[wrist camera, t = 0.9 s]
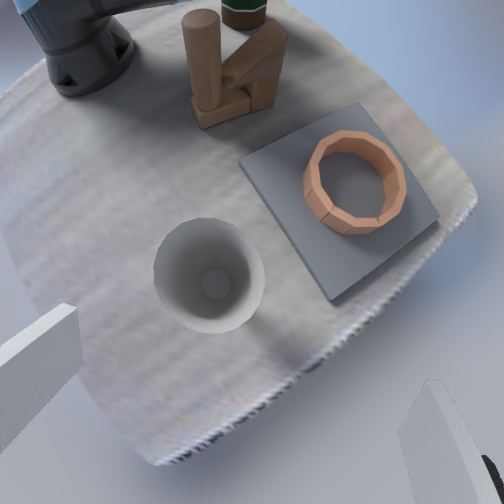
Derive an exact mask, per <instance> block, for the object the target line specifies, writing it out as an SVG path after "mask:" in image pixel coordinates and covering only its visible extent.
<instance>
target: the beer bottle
mask: <svg viewBox="0 0 504 504" xmlns="http://www.w3.org/2000/svg"><path fill="white" fill-rule="evenodd" d="M266 5H267V0H222V22H223V23H224V24H226V25H228V26H230V27H231V28H233V29H235V30H252V29H254V28H255V27H257V26H259V25H261V24H263V23H264V19H265V13H266Z"/></svg>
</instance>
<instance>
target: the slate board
mask: <svg viewBox="0 0 504 504" xmlns="http://www.w3.org/2000/svg"><path fill="white" fill-rule="evenodd" d="M340 130H348V131H360V132H366V133H368V134H369V135H371V136H373V137H374V138H376V139H378V140H379V141H381V142H383V143H384V144H386V146H388V147H389V148H390V150H391V151H392V152H393V154H394V155H395V157H396V158H397V159H398V161H399V162H400V164H401V165H402V166H401V167H403V172H404V177H405V182H406V188H407V193H406V196H405V199H404V201H403V204H402V207H401V210H400V213H399V214H397V215H396V216H395V217H393V218H392V219H391V220H389V221H388V222H386V223H385V224H384V225H382V226H381V227H379V228H377V229H375V230H374V231H372V232H370V233H368V234H352V235H343V234H341V233H339V232H337V231H335V230H334V229H332V228H330V227H328V226H326V225H325V224H323V223H321V222H320V221H319V220H318V219H317V217H316V216H315V214H314V213H313V211H312V210H311V208H310V207H309V205H308V204H307V202H306V201H305V198H304V187H303V177H302V175H303V173H304V171H305V169H306V167H307V165H308V163H309V161H310V159H311V157H312V155H313V153H314V151H315V149H316V147H317V146H318V144H319V142H320V140H322V139H324V138H326V137H328V136H330V135H332V134H334V133H336V132H338V131H340ZM318 165H319V173H320V182H321V187H322V188H323V189H324V191H325V192H326V194H327V195H328V197H329V198H330V200H331V201H332V203H333V204H334V205H335V206H336V207H338V208H339V209H341V210H343V211H345V212H346V213H348V214H350V215H352V216H353V217H355V218H377V217H378V216H379V215H380V213H381V210H382V208H383V205H384V202H385V200H386V196H385V190H384V184H383V179H382V178H381V176H380V175H379V173H378V172H377V170H376V169H375V168H374V166H373V165H372V163H371V162H369V161H367V160H365V159H364V158H362V157H360V156H358V155H357V154H355V153H349V152H333V153H331V154H329V155H328V156H326V157H324V158H322V159H320V161H319V163H318ZM239 166H240V167H241V169H242V170H243V172H244V173H245V175H246V176H247V178H248V179H249V181H250V182H251V184H252V185H253V187H254V188H255V190H256V191H257V192H258V194H259V195H260V197H261V198H262V200H263V201H264V203H265V204H266V206H267V207H268V209H269V210H270V212H271V213H272V215H273V216H274V218H275V219H276V221H277V222H278V224H279V226H280V227H281V229H282V230H283V232H284V233H285V235H286V236H287V238H288V239H289V241H290V242H291V244H292V245H293V247H294V248H295V250H296V252H297V253H298V255H299V256H300V258H301V259H302V261H303V262H304V264H305V266H306V267H307V269H308V270H309V272H310V273H311V275H312V277H313V278H314V280H315V281H316V283H317V284H318V286H319V288H320V289H321V291H322V292H323V294H324V296H325V297H326V299H327V300H332V299H334V298H335V297H337V296H338V295H339V294H341V293H342V292H344V291H345V290H346V289H348V288H349V287H351V286H352V285H353V284H355V283H356V282H357V281H359V280H360V279H362V278H363V277H364V276H366V275H367V274H368V273H370V272H371V271H372V270H374V269H375V268H376V267H378V266H379V265H380V264H382V263H383V262H384V261H385V260H387V259H388V258H389V257H391V256H392V255H393V254H395V253H396V252H397V251H398V250H400V249H401V248H402V247H404V246H405V245H406V244H407V243H409V242H410V241H411V240H412V239H414V238H415V237H416V236H417V235H419V234H420V233H421V232H422V231H423V230H425V229H426V228H427V227H428V226H430V225H431V224H432V223H433V222H434V221H436V220H437V219H438V218H439V217H440V216H439V214H438V213H437V211H436V209H435V208H434V206H433V204H432V203H431V201H430V200H429V198H428V196H427V195H426V193H425V192H424V190H423V189H422V187H421V186H420V184H419V182H418V181H417V179H416V178H415V176H414V175H413V173H412V172H411V171H410V169H409V168H408V166H407V165H406V163H405V162H404V160H403V159H402V158H401V156H400V155H399V153H398V152H397V151H396V149H395V148H394V147H393V145H392V144H391V143H390V141H389V140H388V139H387V137H386V136H385V135H384V133H383V132H382V131H381V129H380V128H379V127H378V126H377V124H376V123H375V122H374V121H373V119H372V118H371V117H370V116H369V114H368V113H367V112H366V111H365V109H364V108H363V107H362V106H361V105H360V103H359V102H357V103H354V104H352V105H350V106H347V107H345V108H343V109H341V110H339V111H336V112H334V113H332V114H330V115H328V116H326V117H323V118H321V119H319V120H317V121H315V122H313V123H311V124H309V125H306V126H304V127H302V128H300V129H298V130H296V131H294V132H292V133H290V134H288V135H286V136H284V137H282V138H280V139H278V140H276V141H274V142H272V143H270V144H268V145H266V146H264V147H263V148H261V149H259V150H257V151H255V152H253V153H251V154H249V155H247V156H246V157H244V158H242V159H240V160H239Z"/></svg>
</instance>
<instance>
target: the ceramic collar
mask: <svg viewBox="0 0 504 504" xmlns="http://www.w3.org/2000/svg"><path fill="white" fill-rule="evenodd" d="M333 152H349V153H355V154H357V155H358V156H360V157H362V158H364V159H365V160H367V161H369V162H371V163H372V165H373V166H374V168H375V169H376V170H377V172H378V173H379V175H380V176H381V178H382V179H383V184H384V190H385V196H386V200H385V202H384V205H383V208H382V210H381V213H380V215H379V216H378V217H377V218H355V217H353V216H352V215H350V214H348V213H346V212H345V211H343V210H341V209H339V208H338V207H336V206H335V205H334V204H333V203H332V201H331V200H330V198H329V197H328V195H327V194H326V192H325V191H324V189H323V188H322V187H321V182H320V173H319V165H318V163H319V161H320V159H322V158H324V157H326V156H328V155H329V154H331V153H333ZM401 166H402V165H401V164H400V162H399V161H398V159H397V158H396V157H395V155H394V154H393V152H392V151H391V150H390V148H389V147H388V146H386V144H384V143H383V142H381V141H379V140H378V139H376V138H374V137H373V136H371V135H369V134H368V133H366V132H360V131H348V130H340V131H338V132H336V133H334V134H332V135H330V136H328V137H326V138H324V139H322V140H320V142H319V144H318V146H317V147H316V149H315V151H314V153H313V155H312V157H311V159H310V161H309V163H308V165H307V167H306V169H305V171H304V173H303V175H302V177H303V187H304V198H305V201H306V202H307V204H308V205H309V207H310V208H311V210H312V211H313V213H314V214H315V216H316V217H317V219H318V220H319V221H320V222H321V223H323V224H325V225H326V226H328V227H330V228H332V229H334V230H335V231H337V232H339V233H341V234H343V235H352V234H368V233H370V232H372V231H374V230H375V229H377V228H379V227H381V226H382V225H384V224H385V223H386V222H388V221H389V220H391V219H392V218H393V217H395V216H396V215H397V214H399V213H400V210H401V207H402V204H403V201H404V199H405V196H406V193H407V188H406V182H405V177H404V172H403V167H401Z"/></svg>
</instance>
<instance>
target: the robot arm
mask: <svg viewBox="0 0 504 504" xmlns="http://www.w3.org/2000/svg"><path fill="white" fill-rule="evenodd" d="M13 1H14V3H15V6H16V8H17V10H18V14H20V15H21V16H22V18H23V20H24V21H25V23H26V24H27V26H28V28H29V29H30V31H31V32H32V34H33V35H34V37H35V38H36V40H37V42H38V43H39V45H40V46H41V48H42V49H43V51H44V52H45V55H46V61H47V67H48V73H49V78H50V80H51V82H52V84H53V85H54V87H55V88H56V89H57V91H58V92H60V93H61V94H63V95H66V96H81V95H85V94H89V93H92V92H94V91H96V90H99V89H101V88H102V87H104V86H106V85H108V84H109V83H110V82H112V81H113V80H114V79H116V78H117V77H118V76H119V75H120V74H121V73H122V72H123V71H124V70H125V69H126V67H127V66H128V65H129V63H130V61H131V59H132V57H133V54H134V44H133V41H132V38H131V36H130V34H129V32H128V31H127V30H126V29H125V28H124V27H123V26H122V25H121V24H120V23H119V22H118V21H117V20H116V19H115V18H114V17H113V16H112V15H116V14H120V13H125V12H130V11H135V10H140V9H145V8H151V7H157V6H164V5H175V4H177V3H180V2H186V1H192V0H13ZM83 365H84V363H83V356H82V348H81V340H80V330H79V320H78V308H76V307H73V306H71V305H68V304H65V303H62V304H60V305H59V306H57V307H56V308H54V309H53V310H51V311H50V312H48V313H47V314H45V315H44V316H42V317H41V318H40V319H38V320H37V321H35V322H34V323H32V324H31V325H29V326H28V327H27V328H25V329H24V330H22V331H21V332H19V333H18V334H17V335H15V336H14V337H12V338H11V339H10V340H8V341H7V342H6V343H4V344H3V345H1V346H0V454H1V453H2V452H3V451H4V449H6V447H7V446H8V445H9V444H10V443H11V442H12V441H13V440H14V439H15V438H16V436H17V435H18V434H19V433H20V432H21V431H22V430H23V429H24V428H25V427H26V425H27V424H28V423H29V422H30V421H31V420H32V419H33V418H34V417H35V416H36V415H37V414H38V413H39V411H40V410H41V409H42V408H43V407H44V406H45V405H46V404H47V403H48V402H49V401H50V400H51V399H52V398H53V397H54V396H55V394H56V393H57V392H58V391H59V390H60V389H61V388H62V387H63V386H64V385H65V384H66V383H67V382H68V381H69V380H70V379H71V378H72V377H73V376H74V375H75V374H76V373H77V372H78V371H79V369H80V368H81V367H82V366H83ZM397 434H398V437H399V441H400V444H401V448H402V451H403V455H404V458H405V462H406V466H407V470H408V473H409V477H410V481H411V485H412V489H413V493H414V497H415V501H416V504H504V487H503V486H504V484H503V481H502V479H501V478H500V475H499V472H498V471H497V468H496V466H495V464H494V463H493V462H492V461H491V460H490V459H489V458H488V457H487V456H486V455H482V456H481V455H480V453H479V451H478V448H477V446H476V444H475V442H474V440H473V438H472V436H471V434H470V432H469V430H468V428H467V426H466V424H465V422H464V421H463V418H462V416H461V415H460V413H459V411H458V409H457V407H456V405H455V403H454V401H453V400H452V398H451V396H450V394H449V392H448V390H447V389H446V387H445V385H444V383H443V382H442V381H434V380H426V381H425V383H424V385H423V387H422V389H421V390H420V393H419V394H418V396H417V398H416V400H415V402H414V403H413V405H412V407H411V409H410V411H409V412H408V414H407V416H406V418H405V419H404V421H403V423H402V424H401V426H400V428H399V429H398V431H397Z"/></svg>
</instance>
